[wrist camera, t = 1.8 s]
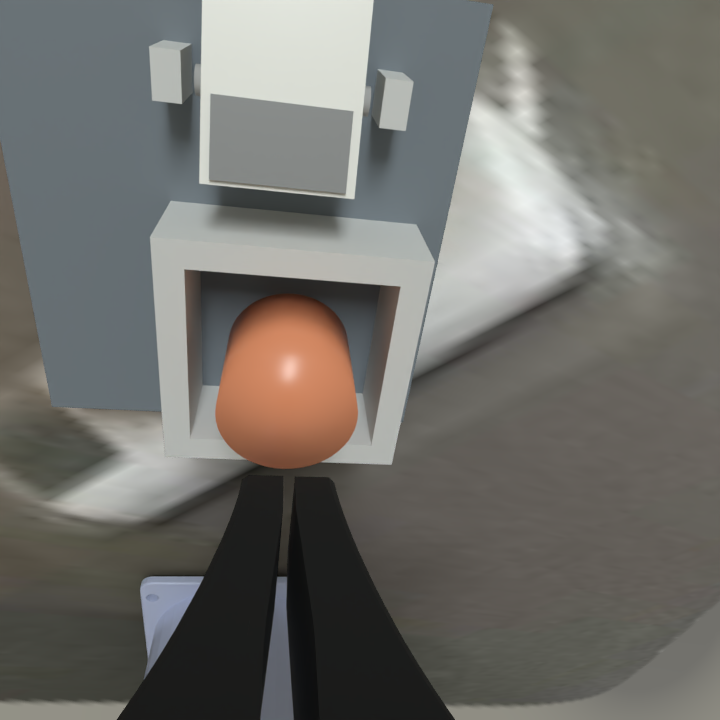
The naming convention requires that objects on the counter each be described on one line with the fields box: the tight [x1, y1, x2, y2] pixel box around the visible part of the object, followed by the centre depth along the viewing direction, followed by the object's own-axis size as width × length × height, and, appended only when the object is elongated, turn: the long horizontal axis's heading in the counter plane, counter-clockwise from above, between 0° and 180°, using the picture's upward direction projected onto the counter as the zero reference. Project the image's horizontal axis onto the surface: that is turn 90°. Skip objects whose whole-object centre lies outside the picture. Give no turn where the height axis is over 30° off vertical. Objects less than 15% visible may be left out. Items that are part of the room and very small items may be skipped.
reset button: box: [215, 294, 358, 469], centre depth 14 cm, size 3×3×3 cm
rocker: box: [194, 0, 374, 199], centre depth 12 cm, size 4×4×1 cm
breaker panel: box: [0, 0, 493, 465], centre depth 15 cm, size 12×11×4 cm
